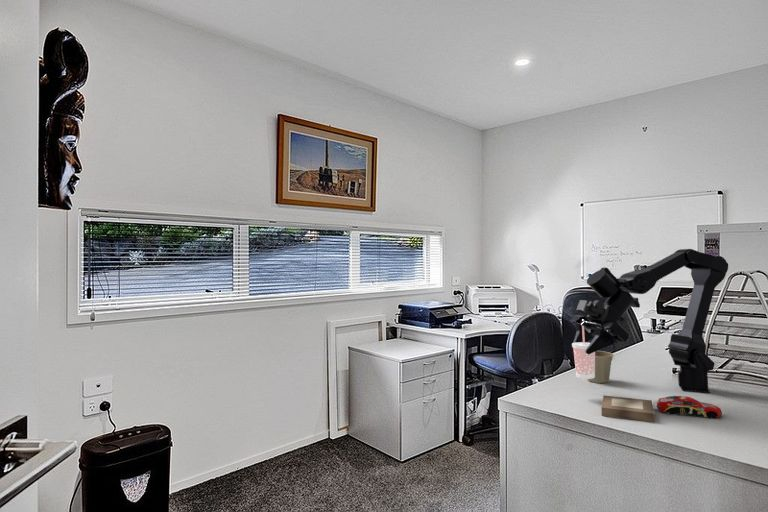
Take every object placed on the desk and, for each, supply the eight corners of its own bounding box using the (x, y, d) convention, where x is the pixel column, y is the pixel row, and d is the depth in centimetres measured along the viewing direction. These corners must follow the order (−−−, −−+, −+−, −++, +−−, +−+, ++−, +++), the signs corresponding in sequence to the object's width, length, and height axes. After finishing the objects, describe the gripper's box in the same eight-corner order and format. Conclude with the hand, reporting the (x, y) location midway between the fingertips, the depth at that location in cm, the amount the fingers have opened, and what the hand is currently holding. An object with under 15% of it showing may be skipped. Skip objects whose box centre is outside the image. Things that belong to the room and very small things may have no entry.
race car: (719, 414, 108) (719, 397, 109) (724, 421, 104) (724, 404, 104) (656, 407, 114) (655, 392, 114) (658, 414, 110) (658, 397, 110)
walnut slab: (651, 408, 113) (651, 399, 113) (654, 422, 104) (653, 413, 104) (603, 402, 119) (603, 395, 119) (601, 415, 109) (601, 407, 109)
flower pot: (621, 384, 136) (619, 356, 136) (589, 385, 136) (588, 356, 136) (606, 376, 145) (605, 350, 145) (577, 377, 145) (576, 351, 145)
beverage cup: (578, 372, 127) (576, 323, 128) (601, 376, 123) (598, 325, 123) (569, 377, 123) (567, 326, 123) (593, 380, 119) (590, 327, 119)
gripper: (574, 288, 133) (542, 327, 131) (617, 291, 115) (580, 336, 113) (599, 313, 135) (568, 352, 132) (645, 320, 116) (609, 365, 114)
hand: (579, 351), depth 123 cm, fingers closed on beverage cup, 6 cm apart
